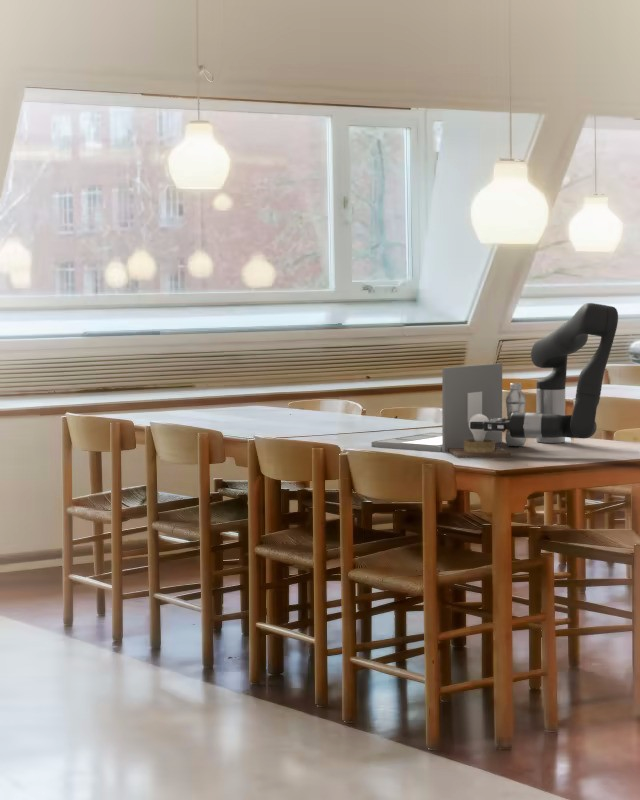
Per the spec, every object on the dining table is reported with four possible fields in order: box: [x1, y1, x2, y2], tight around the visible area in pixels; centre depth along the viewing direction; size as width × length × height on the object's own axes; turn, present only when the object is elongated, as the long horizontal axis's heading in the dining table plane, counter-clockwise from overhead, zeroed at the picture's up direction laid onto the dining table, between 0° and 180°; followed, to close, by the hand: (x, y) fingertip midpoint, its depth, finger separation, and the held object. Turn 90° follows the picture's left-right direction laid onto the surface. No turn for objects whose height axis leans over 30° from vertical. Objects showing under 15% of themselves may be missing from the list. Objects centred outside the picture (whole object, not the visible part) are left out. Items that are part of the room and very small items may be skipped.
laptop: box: [371, 362, 503, 453], centre depth 418 cm, size 35×28×26 cm
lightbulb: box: [469, 414, 489, 442], centre depth 391 cm, size 6×6×11 cm
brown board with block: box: [448, 439, 512, 458], centre depth 391 cm, size 16×16×4 cm
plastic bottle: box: [505, 382, 527, 448], centre depth 410 cm, size 6×7×20 cm
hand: (473, 424), depth 391 cm, fingers open, 8 cm apart
